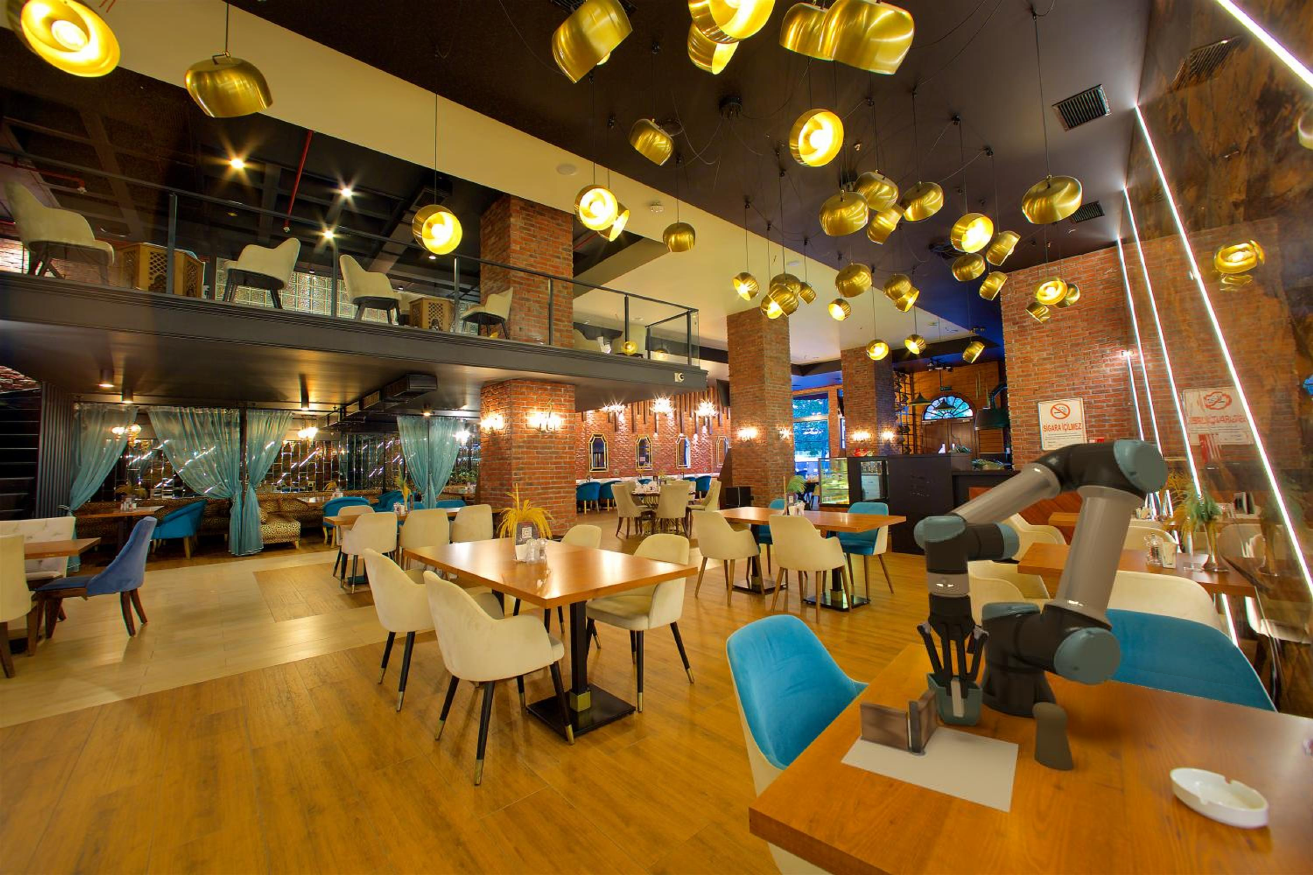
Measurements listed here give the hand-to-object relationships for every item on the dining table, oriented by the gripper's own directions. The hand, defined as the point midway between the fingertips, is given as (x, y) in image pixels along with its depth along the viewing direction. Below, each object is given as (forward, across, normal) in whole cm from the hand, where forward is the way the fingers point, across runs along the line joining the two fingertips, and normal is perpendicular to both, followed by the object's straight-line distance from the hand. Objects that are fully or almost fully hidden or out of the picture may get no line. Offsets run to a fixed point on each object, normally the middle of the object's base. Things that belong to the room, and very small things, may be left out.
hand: (959, 713), depth 105 cm
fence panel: (+5, -6, -2) cm, 8 cm away
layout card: (+6, -4, -9) cm, 11 cm away
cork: (+7, +15, 0) cm, 16 cm away
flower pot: (+6, -2, +10) cm, 12 cm away
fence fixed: (+5, -11, -10) cm, 15 cm away
